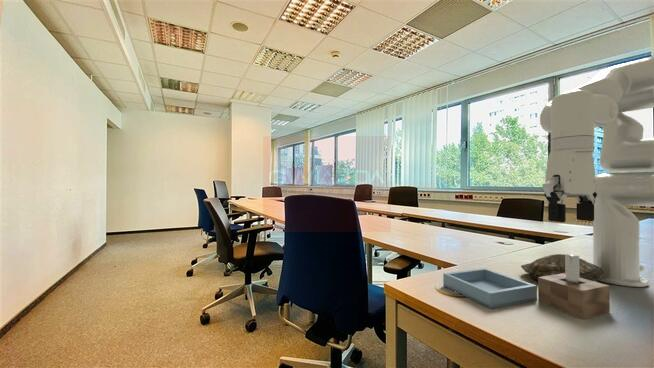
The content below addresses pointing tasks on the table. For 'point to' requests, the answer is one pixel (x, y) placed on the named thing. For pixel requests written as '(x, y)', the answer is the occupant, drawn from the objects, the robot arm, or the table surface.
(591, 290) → the pin holder
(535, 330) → the table surface
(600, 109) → the robot arm
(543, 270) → the crinkled plastic bag
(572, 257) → the steel pin
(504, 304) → the tray
